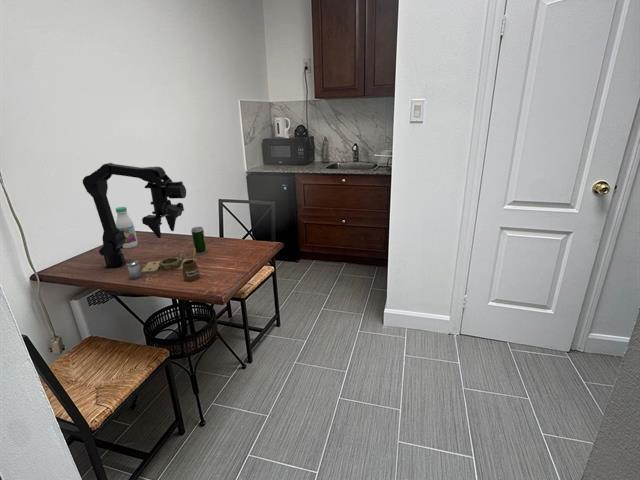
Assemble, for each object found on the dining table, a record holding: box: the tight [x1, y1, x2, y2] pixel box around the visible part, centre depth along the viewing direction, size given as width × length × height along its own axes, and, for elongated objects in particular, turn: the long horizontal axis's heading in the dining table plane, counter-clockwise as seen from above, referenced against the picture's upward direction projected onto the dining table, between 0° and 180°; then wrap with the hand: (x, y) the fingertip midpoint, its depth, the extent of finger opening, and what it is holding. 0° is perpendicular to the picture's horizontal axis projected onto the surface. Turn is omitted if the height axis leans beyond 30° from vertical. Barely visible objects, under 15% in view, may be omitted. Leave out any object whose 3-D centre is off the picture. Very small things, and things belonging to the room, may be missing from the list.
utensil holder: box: [179, 248, 200, 282], centre depth 134 cm, size 6×6×12 cm
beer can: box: [191, 226, 208, 255], centre depth 160 cm, size 5×5×12 cm
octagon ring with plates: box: [140, 256, 199, 274], centre depth 148 cm, size 21×10×2 cm, turn 97°
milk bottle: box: [115, 206, 139, 249], centre depth 170 cm, size 8×8×20 cm
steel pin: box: [125, 259, 143, 281], centre depth 137 cm, size 5×5×6 cm
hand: (166, 234), depth 146 cm, fingers open, 9 cm apart
